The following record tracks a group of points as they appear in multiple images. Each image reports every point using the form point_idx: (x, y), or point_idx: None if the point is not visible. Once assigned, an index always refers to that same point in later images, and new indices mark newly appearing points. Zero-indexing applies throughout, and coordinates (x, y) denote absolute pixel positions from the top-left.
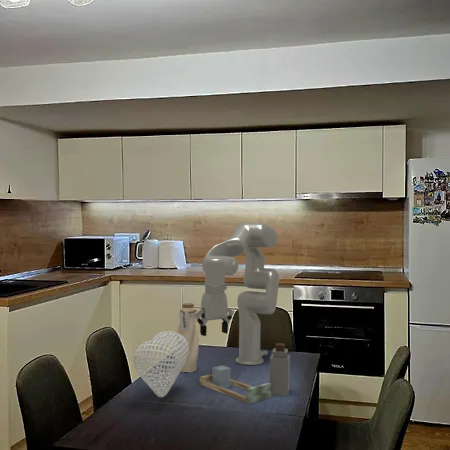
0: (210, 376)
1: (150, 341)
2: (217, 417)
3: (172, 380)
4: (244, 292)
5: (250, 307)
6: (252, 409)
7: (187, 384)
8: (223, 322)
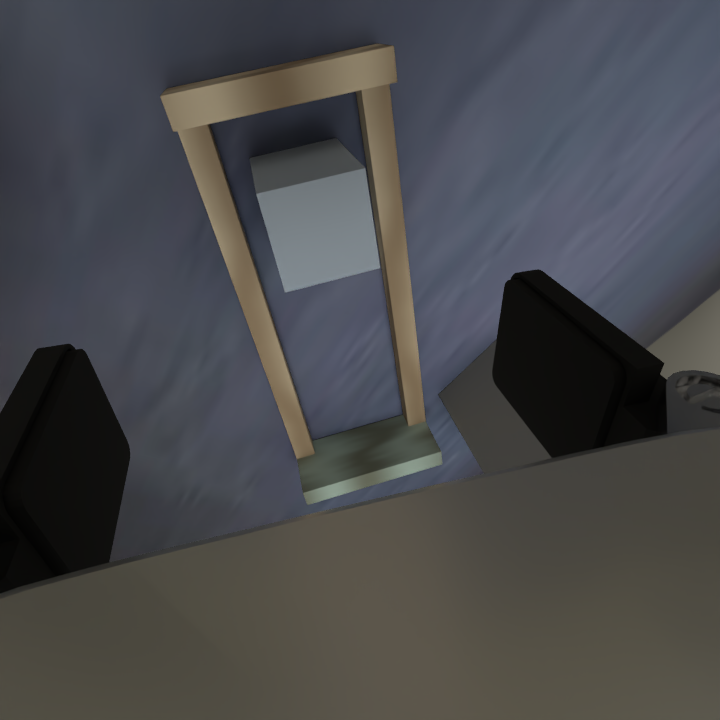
0: (258, 112)
1: None
2: (119, 534)
3: None
4: None
5: None
6: (282, 499)
7: (58, 31)
8: (620, 412)
